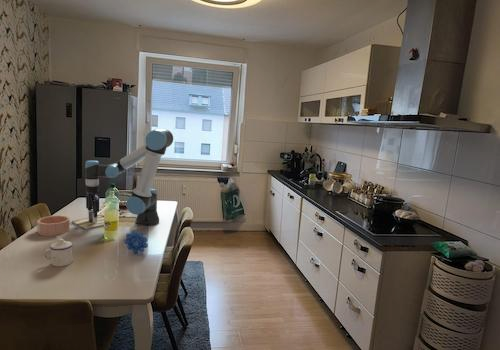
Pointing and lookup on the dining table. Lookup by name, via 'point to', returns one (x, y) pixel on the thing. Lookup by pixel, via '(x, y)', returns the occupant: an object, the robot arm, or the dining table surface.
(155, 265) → the dining table surface
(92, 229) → the slate mat
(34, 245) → the dining table surface
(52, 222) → the terracotta bowl
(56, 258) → the teacup with lid
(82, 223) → the oak lid
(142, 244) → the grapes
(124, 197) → the food container
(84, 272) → the dining table surface
